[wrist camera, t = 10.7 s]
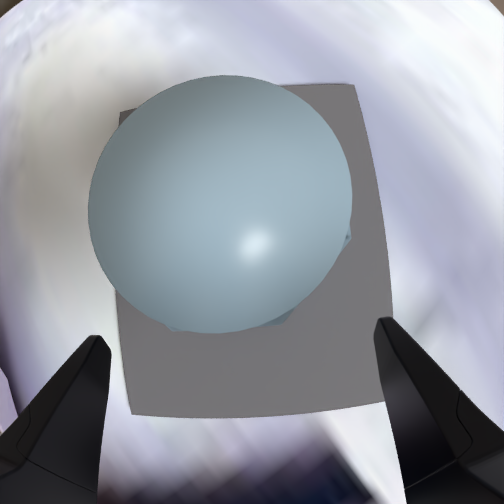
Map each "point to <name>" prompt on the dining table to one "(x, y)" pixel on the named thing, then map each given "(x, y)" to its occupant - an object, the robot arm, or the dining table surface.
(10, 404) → the fruit bowl
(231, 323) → the dome-topped octagonal prism
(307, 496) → the dining table surface
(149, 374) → the placemat
